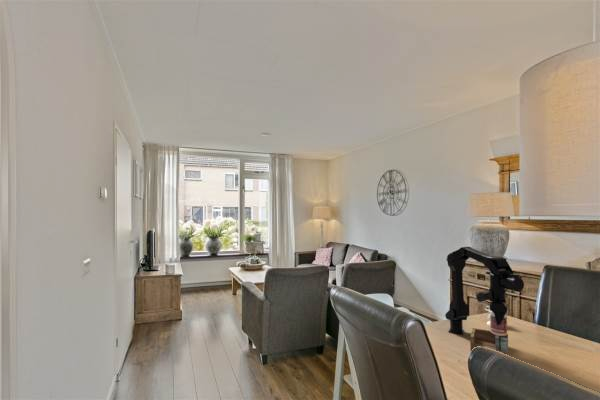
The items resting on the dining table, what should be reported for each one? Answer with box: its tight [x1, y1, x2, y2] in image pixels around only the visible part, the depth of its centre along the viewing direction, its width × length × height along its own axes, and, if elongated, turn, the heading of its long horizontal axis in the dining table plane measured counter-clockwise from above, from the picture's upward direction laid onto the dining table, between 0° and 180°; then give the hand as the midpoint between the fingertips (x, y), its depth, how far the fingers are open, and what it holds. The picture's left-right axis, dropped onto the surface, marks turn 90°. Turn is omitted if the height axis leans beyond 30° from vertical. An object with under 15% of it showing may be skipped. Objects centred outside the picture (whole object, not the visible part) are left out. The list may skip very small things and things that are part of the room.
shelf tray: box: [469, 327, 509, 355], centre depth 146 cm, size 13×14×6 cm
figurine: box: [484, 305, 509, 327], centre depth 176 cm, size 12×9×10 cm
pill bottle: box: [489, 312, 508, 336], centre depth 141 cm, size 6×6×11 cm
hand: (498, 322), depth 141 cm, fingers closed on pill bottle, 6 cm apart
